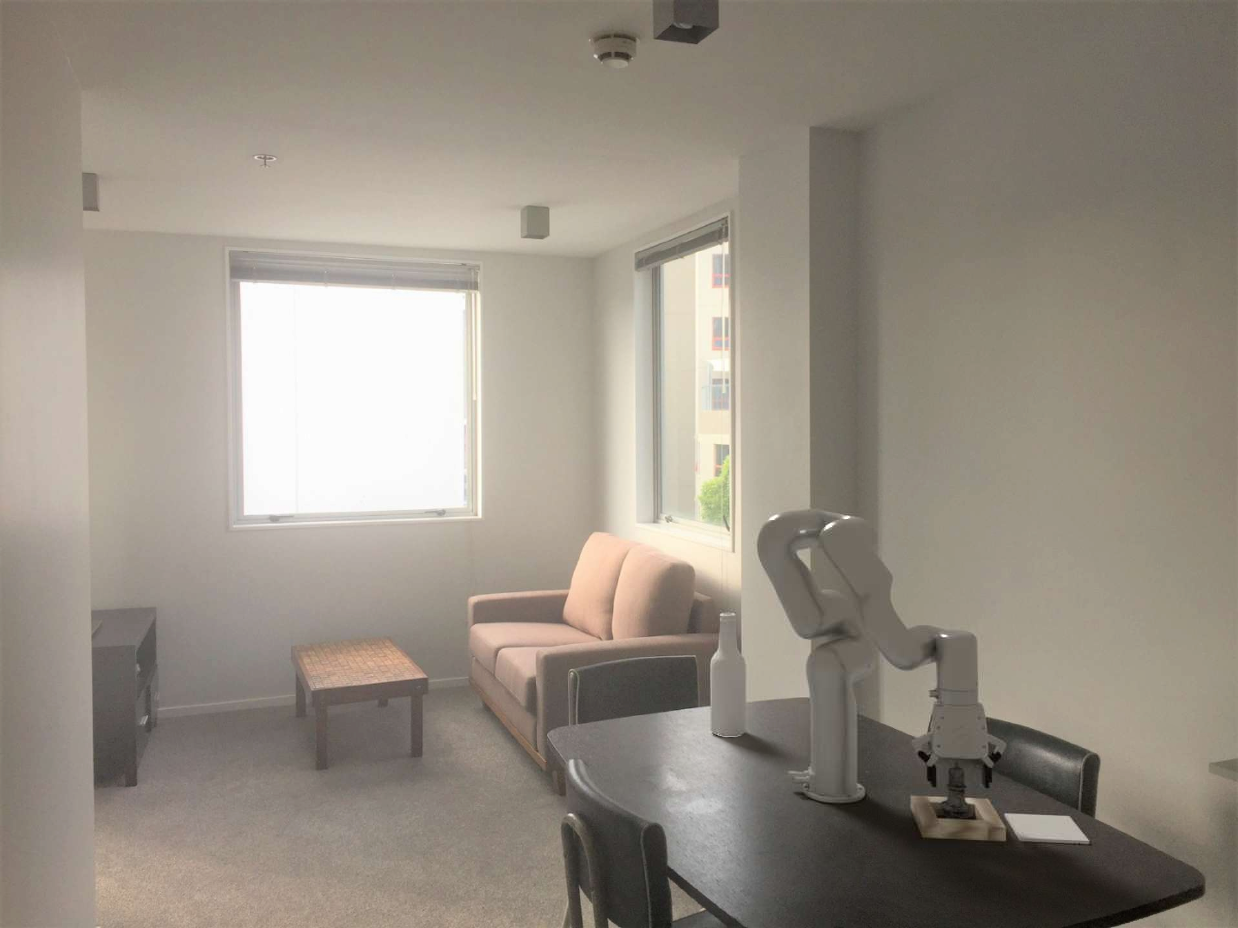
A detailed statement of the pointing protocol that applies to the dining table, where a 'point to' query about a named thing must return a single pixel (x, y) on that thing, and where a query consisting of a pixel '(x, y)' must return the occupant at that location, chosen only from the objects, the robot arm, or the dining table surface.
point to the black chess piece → (956, 796)
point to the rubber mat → (1046, 828)
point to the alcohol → (728, 682)
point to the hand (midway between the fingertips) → (959, 785)
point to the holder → (957, 820)
